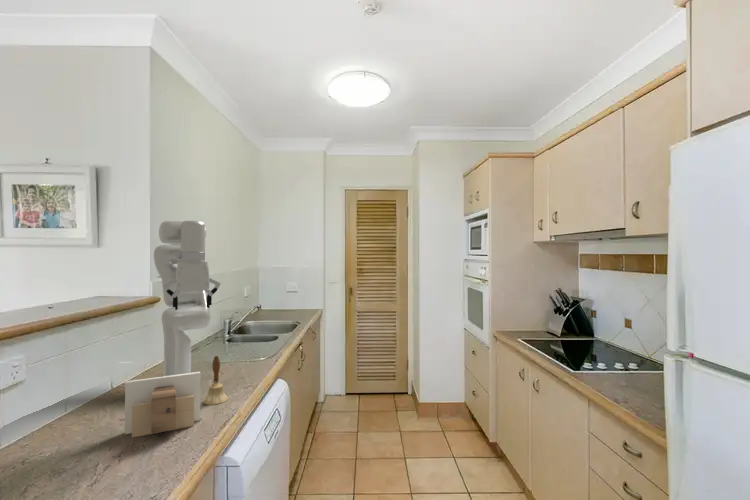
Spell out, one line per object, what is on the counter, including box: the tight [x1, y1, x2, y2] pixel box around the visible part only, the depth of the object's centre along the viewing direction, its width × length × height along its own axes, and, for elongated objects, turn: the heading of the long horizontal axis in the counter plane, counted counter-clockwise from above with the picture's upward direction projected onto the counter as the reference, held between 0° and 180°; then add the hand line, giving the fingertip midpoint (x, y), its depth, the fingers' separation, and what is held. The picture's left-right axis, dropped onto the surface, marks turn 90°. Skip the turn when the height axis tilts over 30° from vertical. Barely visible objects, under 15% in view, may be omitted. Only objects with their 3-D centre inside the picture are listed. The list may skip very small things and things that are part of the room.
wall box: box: [150, 385, 176, 435], centre depth 111 cm, size 9×6×10 cm
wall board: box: [124, 371, 201, 438], centre depth 115 cm, size 5×20×15 cm, turn 118°
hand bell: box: [202, 355, 229, 406], centre depth 137 cm, size 8×8×16 cm
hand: (192, 308), depth 128 cm, fingers open, 9 cm apart
